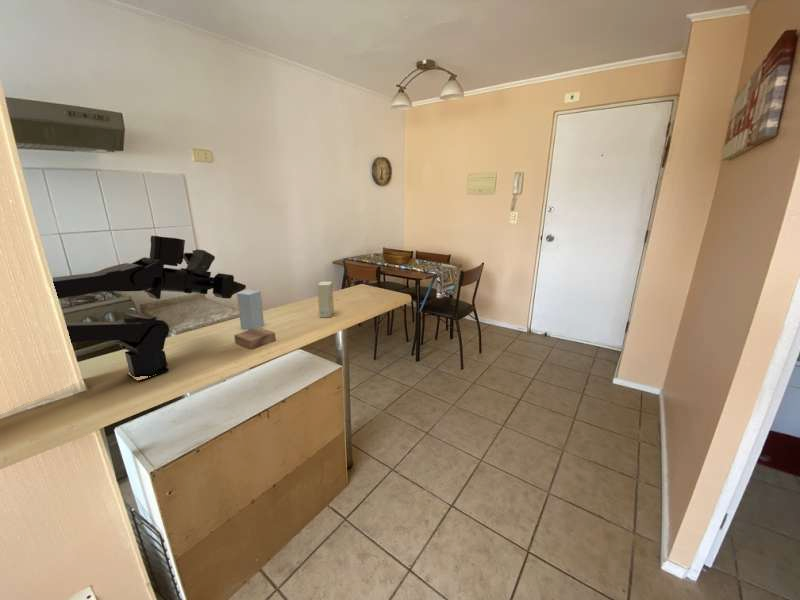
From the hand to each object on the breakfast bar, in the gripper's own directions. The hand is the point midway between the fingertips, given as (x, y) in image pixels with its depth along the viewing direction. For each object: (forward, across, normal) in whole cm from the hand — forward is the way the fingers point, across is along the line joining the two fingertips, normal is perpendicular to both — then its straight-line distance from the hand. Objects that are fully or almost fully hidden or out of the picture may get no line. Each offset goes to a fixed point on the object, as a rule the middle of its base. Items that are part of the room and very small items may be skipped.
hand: (234, 285), depth 97 cm
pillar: (+12, +5, +14) cm, 19 cm away
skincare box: (+33, -8, +8) cm, 35 cm away
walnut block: (+5, -6, +16) cm, 18 cm away
